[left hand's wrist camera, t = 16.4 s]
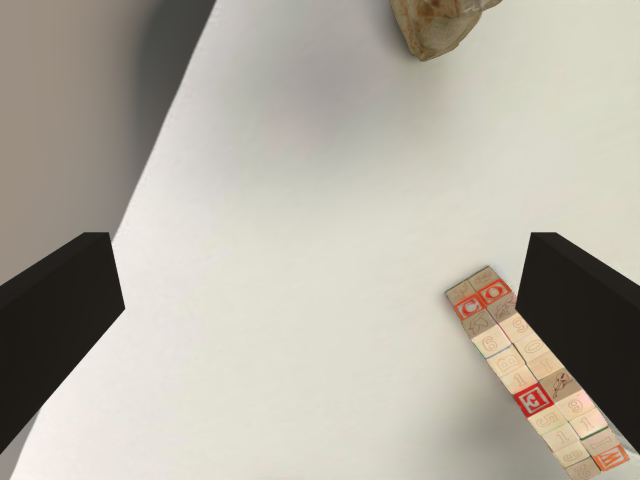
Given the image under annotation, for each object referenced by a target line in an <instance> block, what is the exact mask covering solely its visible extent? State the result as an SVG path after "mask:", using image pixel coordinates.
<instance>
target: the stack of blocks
mask: <svg viewBox="0 0 640 480" xmlns="http://www.w3.org/2000/svg"><path fill="white" fill-rule="evenodd" d="M446 295H447V297H448V299H449V300H450V302H451V304H452V305H453V308H454V310H455V311H456V313H457V315H458V316H459V318H460V320H461V322H462V325H463V327H464V329H465V331H466V332H467V334H468V336H469V337H470V339H471V340H472V342H473V343H474V345H475V346H476V347H477V348H478V350H479V351H480V353H481V354H482V355H483V356H484V358H485V359H486V361H487V362H488V364H489V365H490V366H491V368H492V369H493V370H494V372H495V373H496V374H497V376H498V377H499V378H500V380H501V381H502V383H503V384H504V385H505V386H506V388H507V389H508V390H509V392H510V393H511V394H512V395H513V397H514V399H515V401H516V402H517V404H518V405H519V407H520V409H521V410H522V412H523V413H524V415H525V417H526V418H527V419H528V421H529V422H530V423H531V425H532V426H533V427H534V428H535V430H536V431H537V432H538V434H539V435H541V436H542V438H543V439H544V440H545V442H546V444H547V445H548V447H549V448H550V450H551V451H552V453H553V454H554V456H555V457H556V458H557V460H558V461H559V462H560V464H561V465H562V466H563V468H564V470H565V471H566V472H567V474H568V475H569V477H570V478H571V479H572V480H586V479H589V478H591V477H593V476H596V475H598V474H600V473H601V471H602V472H604V471H607V470H609V469H611V468H613V467H615V466H617V465H620V464H622V463H624V462H626V461H628V460H629V459H630V458H629V457H628V455H627V454H626V452H625V451H624V449H623V448H622V446H621V444H620V442H619V441H618V439H617V438H616V436H615V435H614V433H613V432H612V431H611V429H610V428H609V427H608V423H607V422H606V420H605V419H604V417H603V416H602V415H601V413H600V412H599V410H598V409H597V408H596V407H595V405H594V404H593V402H592V401H591V399H590V398H589V396H588V395H587V394H586V392H585V391H584V389H583V388H582V387H581V386H580V385H579V384H578V382H577V381H576V380H575V379H574V377H573V376H572V375H571V374H570V373H569V372H568V370H567V369H566V368H565V367H564V366H563V365H562V363H561V362H560V361H559V360H558V359H557V358H556V356H555V355H554V354H553V353H552V352H551V351H550V349H549V348H548V347H547V346H546V345H545V344H544V342H543V341H542V340H541V339H540V338H539V337H538V335H537V334H536V333H535V332H534V331H533V330H532V328H531V327H530V326H529V325H528V324H527V323H526V321H525V320H524V319H523V318H522V317H521V316H520V314H519V313H518V312H517V311H516V310H515V305H516V300H517V297H516V296H515V294H514V293H513V291H512V290H511V289H510V288H509V287H508V285H507V284H506V283H505V282H504V281H503V280H502V279H501V278H500V277H499V276H498V275H497V274H496V273H495V272H494V270H493V269H492V268H491V267H490V266H489V267H488V268H486V269H484V270H482V271H481V272H479V273H477V274H476V275H474V276H473V277H471V278H469V279H468V280H466V281H464V282H462V283H461V284H459V285H457V286H456V287H454V288H452V289H451V290H449V291H448V292H447V293H446Z"/></svg>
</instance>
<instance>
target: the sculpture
mask: <svg viewBox="0 0 640 480" xmlns="http://www.w3.org/2000/svg"><path fill="white" fill-rule="evenodd" d="M501 1H502V0H390V2H391V6H392V10H393V13H394V15H395V18H396V20H397V23H398V25H399V27H400V29H401V31H402V33H403V35H404V37H405V39H406V42H407V45H408V47H409V50H410V52H411V54H412V55H414V56H416V57H417V58H418V59H419V60H420V61H427V60H430V59H433V58H436V57H438V56H441V55H443V54H445V53H447V52H449V51H452V50H453V49H455V48H456V47H457V46H458V45H459V42H460V41H462V40H463V39H464V38H465V37H466V36H467V34H468V33H469V32H470V31H471V30H472V29H473V27H474V26H475V25H476V24H477V22H478V21H479V19H480V17H481V15H482V12H483V11H485V10H487V9H489V8H491V7H494V6H496V5H497V4H499V3H500V2H501Z"/></svg>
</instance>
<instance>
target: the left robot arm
mask: <svg viewBox="0 0 640 480" xmlns="http://www.w3.org/2000/svg"><path fill="white" fill-rule="evenodd" d="M124 310H125V305H124V300H123V296H122V291H121V287H120V282H119V277H118V273H117V268H116V263H115V259H114V254H113V250H112V245H111V240H110V236H109V233H108V232H84V233H83V234H81V235H79V236H78V237H76V238H75V239H73V240H72V241H70V242H68V243H67V244H65V245H64V246H62V247H60V248H59V249H57V250H56V251H54V252H53V253H51V254H50V255H48V256H46V257H45V258H43V259H42V260H40V261H39V262H37V263H36V264H34V265H32V266H31V267H29V268H28V269H26V270H24V271H23V272H21V273H20V274H18V275H17V276H15V277H14V278H12V279H10V280H9V281H7V282H6V283H4V284H3V285H1V286H0V454H1V453H2V452H3V451H4V450H5V449H6V447H7V446H8V445H9V444H10V443H11V442H12V440H13V439H14V438H15V437H16V436H17V435H18V433H19V432H20V431H21V430H22V429H23V428H24V426H25V425H26V424H27V423H28V422H29V421H30V419H31V418H32V417H33V416H34V415H35V414H36V412H37V411H38V410H39V409H40V408H41V407H42V405H43V404H44V403H45V402H46V401H47V400H48V398H49V397H50V396H51V395H52V394H53V393H54V391H55V390H56V389H57V388H58V387H59V386H60V384H61V383H62V382H63V381H64V380H65V379H66V377H67V376H68V375H69V374H70V373H71V372H72V370H73V369H74V368H75V367H76V366H77V365H78V363H79V362H80V361H81V360H82V359H83V358H84V356H85V355H86V354H87V353H88V352H89V351H90V349H91V348H92V347H93V346H94V345H95V344H96V342H97V341H98V340H99V339H100V338H101V337H102V335H103V334H104V333H105V332H106V331H107V330H108V328H109V327H110V326H111V325H112V324H113V323H114V321H115V320H116V319H117V318H118V317H119V316H120V314H121V313H122V312H123V311H124ZM515 310H516V311H517V312H518V313H519V314H520V316H521V317H522V318H523V319H524V320H525V321H526V323H527V324H528V325H529V326H530V327H531V328H532V330H533V331H534V332H535V333H536V334H537V335H538V337H539V338H540V339H541V340H542V341H543V342H544V344H545V345H546V346H547V347H548V348H549V349H550V351H551V352H552V353H553V354H554V355H555V356H556V358H557V359H558V360H559V361H560V362H561V363H562V365H563V366H564V367H565V368H566V369H567V370H568V372H569V373H570V374H571V375H572V376H573V377H574V379H575V380H576V381H577V382H578V383H579V384H580V386H581V387H582V388H583V389H584V390H585V391H586V393H587V394H588V395H589V396H590V397H591V398H592V400H593V401H594V402H595V403H596V404H597V405H598V407H599V408H600V409H601V410H602V411H603V412H604V414H605V415H606V416H607V417H608V418H609V419H610V421H611V422H612V423H613V424H614V425H615V426H616V428H617V429H618V430H619V431H620V432H621V433H622V435H623V436H624V437H625V438H626V439H627V440H628V442H629V443H630V444H631V445H632V446H633V447H634V449H635V450H636V451H637V452H638V453H639V454H640V286H639V285H637V284H636V283H634V282H633V281H631V280H630V279H628V278H626V277H625V276H623V275H622V274H620V273H619V272H617V271H616V270H614V269H612V268H611V267H609V266H608V265H606V264H605V263H603V262H601V261H600V260H598V259H597V258H595V257H594V256H592V255H590V254H589V253H587V252H586V251H584V250H583V249H581V248H580V247H578V246H576V245H575V244H573V243H572V242H570V241H569V240H567V239H565V238H564V237H562V236H561V235H559V234H558V233H556V232H531V236H530V240H529V245H528V250H527V254H526V259H525V263H524V268H523V273H522V277H521V282H520V287H519V291H518V296H517V300H516V305H515Z"/></svg>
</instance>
